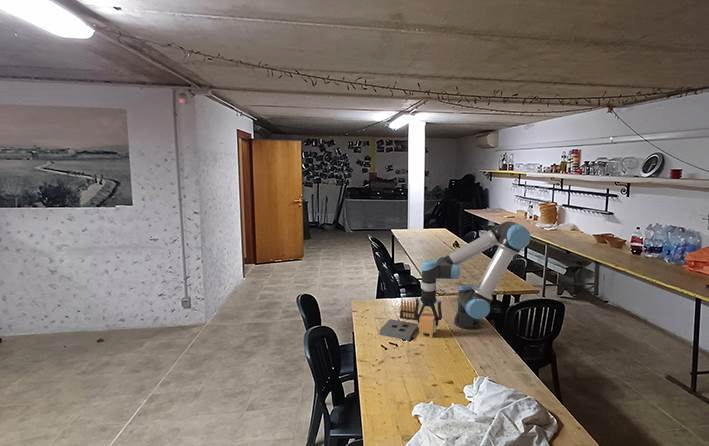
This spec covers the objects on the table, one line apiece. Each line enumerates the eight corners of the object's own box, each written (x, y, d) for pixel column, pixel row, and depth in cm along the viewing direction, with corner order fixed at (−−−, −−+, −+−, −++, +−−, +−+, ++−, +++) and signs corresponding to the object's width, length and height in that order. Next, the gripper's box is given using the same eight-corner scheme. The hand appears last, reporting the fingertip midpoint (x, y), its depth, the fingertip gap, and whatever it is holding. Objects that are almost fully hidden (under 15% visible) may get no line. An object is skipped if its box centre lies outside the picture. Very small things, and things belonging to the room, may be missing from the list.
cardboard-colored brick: (435, 331, 215) (436, 314, 214) (432, 337, 208) (433, 319, 207) (422, 329, 218) (423, 312, 217) (419, 335, 211) (419, 317, 209)
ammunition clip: (418, 319, 233) (418, 300, 231) (417, 320, 231) (418, 301, 229) (400, 317, 236) (400, 297, 234) (399, 318, 235) (400, 299, 233)
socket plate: (418, 327, 221) (418, 323, 220) (409, 340, 205) (409, 336, 205) (389, 322, 228) (389, 319, 227) (379, 334, 212) (379, 330, 212)
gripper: (449, 289, 209) (447, 330, 212) (412, 285, 217) (411, 324, 220) (446, 293, 202) (445, 336, 205) (408, 289, 210) (407, 329, 214)
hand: (427, 330), depth 213 cm, fingers closed on cardboard-colored brick, 7 cm apart
